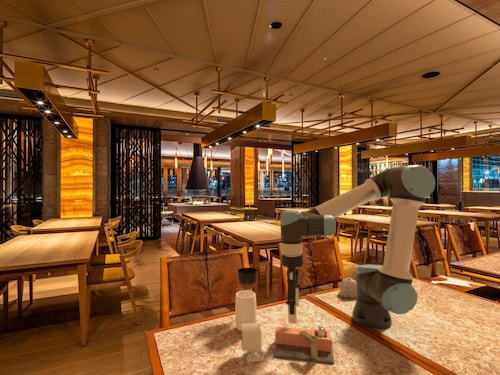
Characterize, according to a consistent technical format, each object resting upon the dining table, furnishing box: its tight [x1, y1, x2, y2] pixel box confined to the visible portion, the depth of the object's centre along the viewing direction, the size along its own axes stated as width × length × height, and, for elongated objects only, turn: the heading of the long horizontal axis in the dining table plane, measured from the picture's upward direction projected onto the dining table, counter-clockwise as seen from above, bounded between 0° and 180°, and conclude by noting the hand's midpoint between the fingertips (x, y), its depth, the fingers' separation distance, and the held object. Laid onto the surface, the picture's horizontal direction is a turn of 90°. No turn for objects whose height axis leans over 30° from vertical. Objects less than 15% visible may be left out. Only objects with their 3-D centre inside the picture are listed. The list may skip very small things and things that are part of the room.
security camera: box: [240, 322, 265, 363], centre depth 92 cm, size 6×7×10 cm
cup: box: [234, 289, 257, 332], centre depth 111 cm, size 8×8×14 cm
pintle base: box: [273, 326, 335, 365], centre depth 97 cm, size 19×17×8 cm
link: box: [274, 326, 332, 352], centre depth 98 cm, size 19×7×4 cm, turn 77°
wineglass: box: [237, 267, 258, 291], centre depth 123 cm, size 8×9×20 cm
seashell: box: [338, 276, 357, 300], centre depth 146 cm, size 12×14×10 cm
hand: (294, 313), depth 99 cm, fingers open, 13 cm apart
